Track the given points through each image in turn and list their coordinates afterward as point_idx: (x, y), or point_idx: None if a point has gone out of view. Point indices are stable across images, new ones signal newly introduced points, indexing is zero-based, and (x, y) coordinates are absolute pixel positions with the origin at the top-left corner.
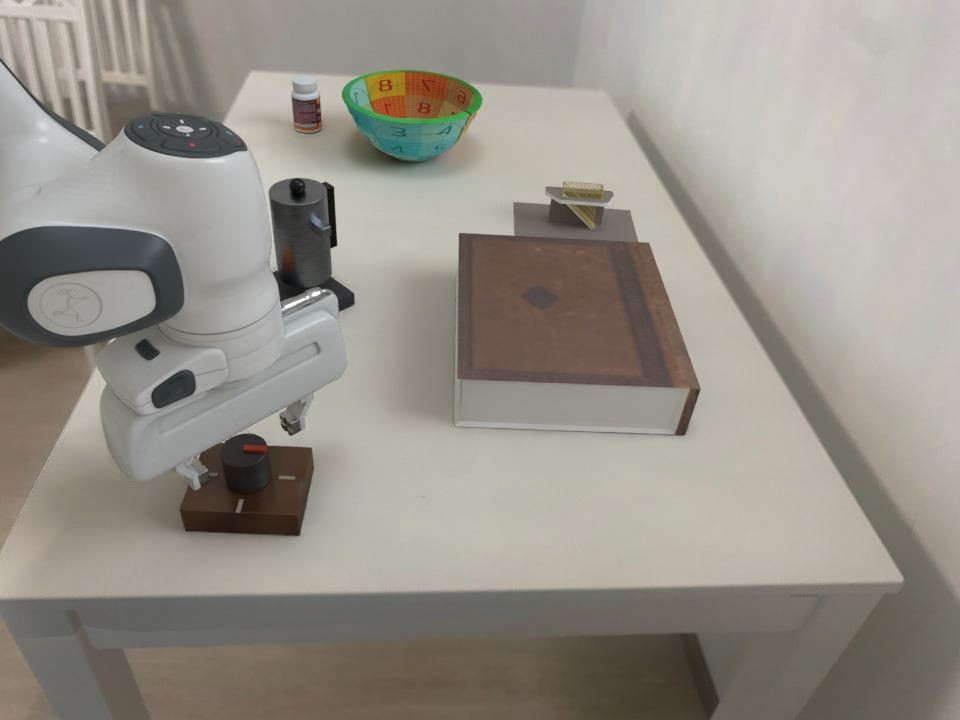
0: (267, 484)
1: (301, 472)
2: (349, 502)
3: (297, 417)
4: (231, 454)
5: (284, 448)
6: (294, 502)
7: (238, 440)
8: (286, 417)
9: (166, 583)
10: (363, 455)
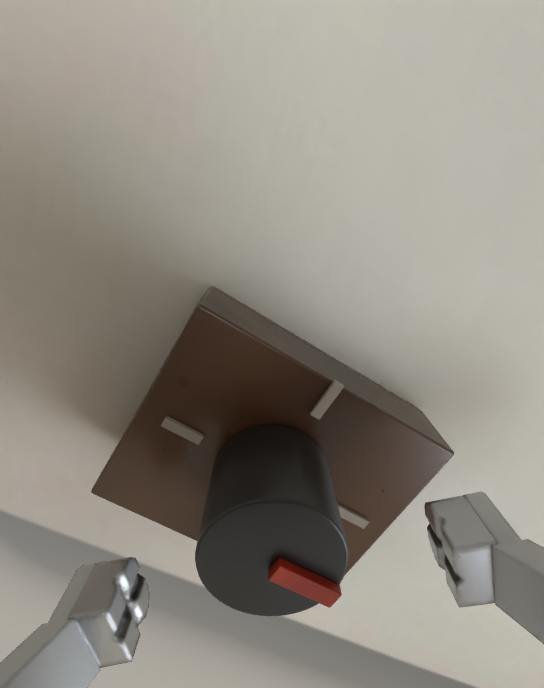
0: None
1: (388, 512)
2: None
3: (499, 602)
4: (230, 564)
5: (392, 428)
6: None
7: (271, 523)
8: (465, 578)
9: (72, 526)
10: (534, 423)
